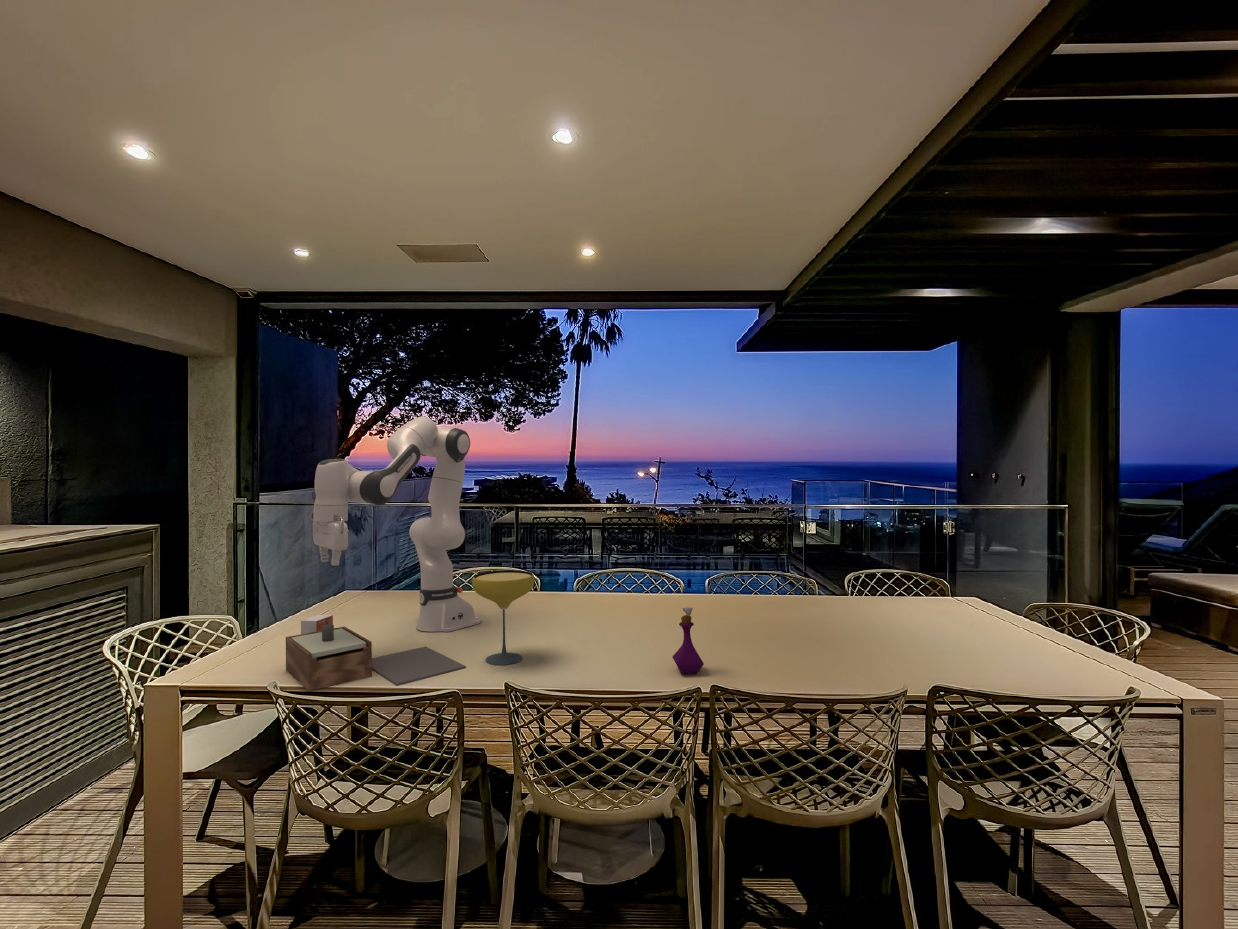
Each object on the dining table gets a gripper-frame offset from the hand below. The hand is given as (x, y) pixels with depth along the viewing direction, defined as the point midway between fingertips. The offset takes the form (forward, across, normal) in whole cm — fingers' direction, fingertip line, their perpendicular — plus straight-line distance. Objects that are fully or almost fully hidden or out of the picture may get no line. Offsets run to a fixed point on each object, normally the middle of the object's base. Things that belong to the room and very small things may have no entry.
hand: (329, 563), depth 172 cm
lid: (+22, -4, +1) cm, 22 cm away
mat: (+29, -14, -19) cm, 38 cm away
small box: (+30, +20, -3) cm, 36 cm away
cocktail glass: (+29, -27, -41) cm, 57 cm away
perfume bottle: (+28, -72, -73) cm, 106 cm away
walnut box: (+30, -4, +1) cm, 30 cm away
